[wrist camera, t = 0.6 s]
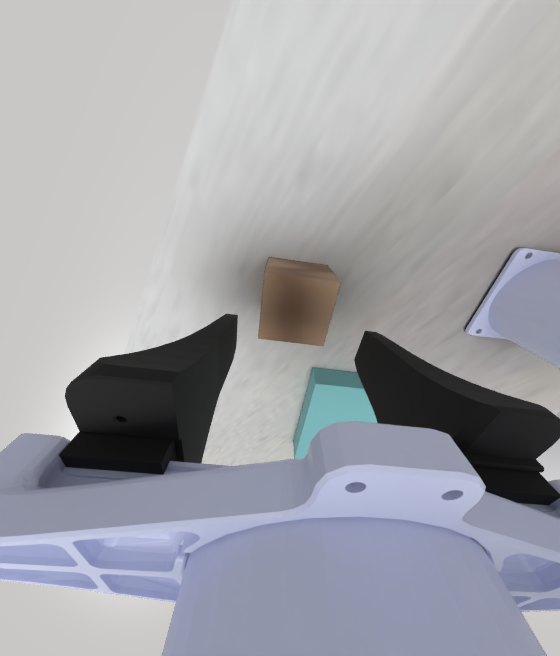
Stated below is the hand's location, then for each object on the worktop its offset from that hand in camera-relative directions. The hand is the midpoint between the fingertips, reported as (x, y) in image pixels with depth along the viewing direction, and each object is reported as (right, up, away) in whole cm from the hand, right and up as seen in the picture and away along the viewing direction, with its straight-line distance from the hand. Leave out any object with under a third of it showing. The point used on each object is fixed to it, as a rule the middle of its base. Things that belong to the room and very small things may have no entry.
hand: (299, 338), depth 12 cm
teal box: (+8, -10, +16) cm, 20 cm away
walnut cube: (0, +4, +7) cm, 8 cm away
